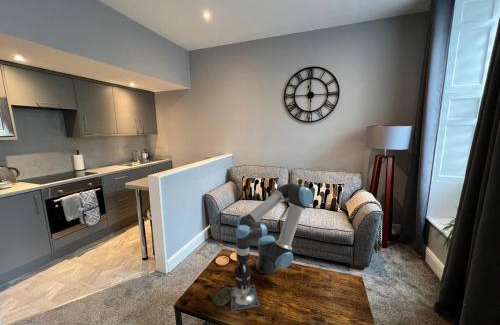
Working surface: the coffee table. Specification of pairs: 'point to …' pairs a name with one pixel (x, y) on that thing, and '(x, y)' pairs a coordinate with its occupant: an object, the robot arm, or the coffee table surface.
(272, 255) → the robot arm
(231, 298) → the duct flange
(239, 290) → the coffee cup
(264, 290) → the coffee table surface
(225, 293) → the seashell
